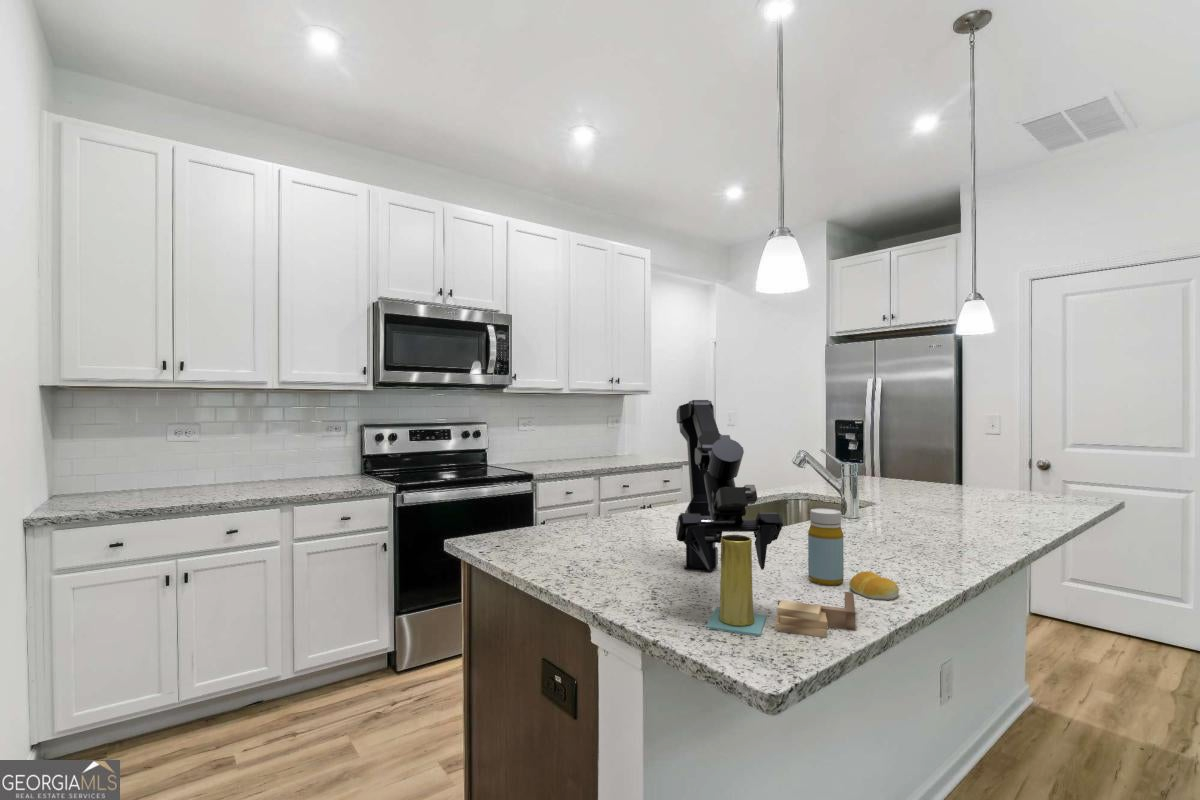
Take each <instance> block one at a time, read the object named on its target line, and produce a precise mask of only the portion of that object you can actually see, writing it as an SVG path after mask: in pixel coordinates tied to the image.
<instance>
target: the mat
mask: <svg viewBox="0 0 1200 800" xmlns="http://www.w3.org/2000/svg"><path fill="white" fill-rule="evenodd" d="M719 613H720V608H715V610H714V611H713V613H712V614H711V616H710V618H709V620H708V622H707V623H706V625H705V629H706V628H710V629H709V630H712V629H718V630H717V631H719V630H723V631H722V632H726V631H729V632H728V633H733V632H735V633H734V634H740V633H741V634H742V635H747V636H755V637H761V635H762V633H763V629H764V627H765V624H766V620H767V614H761V613H760V614H759V613H753V615H754V619H755V621H754V623H753V624H751V625H748V626H732V625H728V624H725V623H723V622H721V621H720V620H719ZM741 634H740V635H741Z"/></svg>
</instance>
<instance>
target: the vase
mask: <svg viewBox="0 0 1200 800" xmlns="http://www.w3.org/2000/svg"><path fill="white" fill-rule="evenodd" d="M752 540H753V539H752V538H751V537H750V536H746V535H740V534H727V535H722V537H721V543H720V582H719V583H720V584H719V587H720V588H719V591H720V592H719V609H720V613H719V620H720V621H721V622H723V623H725V624H728V625H732V626H748V625H751V624H753V623H754V621H755V619H754V615H753V614H754V600H753V595H754V594H753V567H752V566H753V562H752V561H753V560H752V559H753V555H752V554H753V553H752V544H753V543H752Z"/></svg>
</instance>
